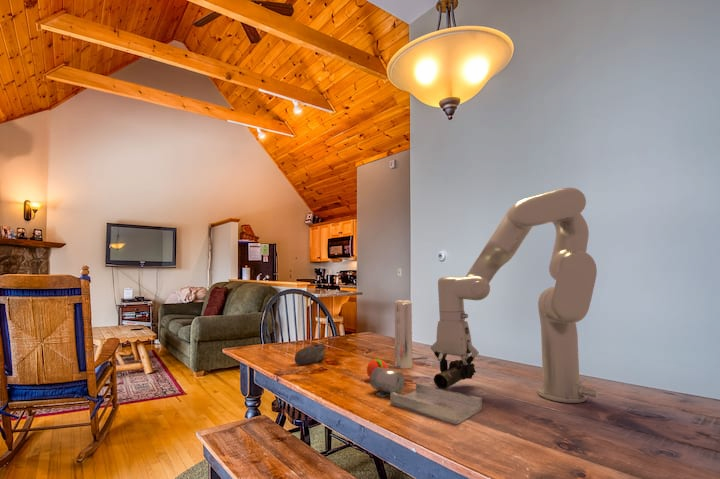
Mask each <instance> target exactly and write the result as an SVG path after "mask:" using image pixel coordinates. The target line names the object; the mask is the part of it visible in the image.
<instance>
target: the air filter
mask: <svg viewBox="0 0 720 479" xmlns="http://www.w3.org/2000/svg"><path fill="white" fill-rule="evenodd" d="M412 307H413V306H412V303H411V300H405V299H403V300H401V299H399V300H395V302H394V367H395V368H396V369H402V370H404V369H406V370H407V369H412V368H413V330H412V329H413V326H412V323H413V321H412V318H413V316H412V314H413V311H412V310H413V309H412Z"/></svg>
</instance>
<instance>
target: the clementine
mask: <svg viewBox="0 0 720 479" xmlns="http://www.w3.org/2000/svg"><path fill="white" fill-rule="evenodd" d="M377 367H380V368H384V369H388V366H387V364H386V362H385V361H384V360H382V359H380V358H375V359H372V360H370V361H369V362H368V364H367V366H366V374H367V376H368V377H369V378H370V377H371V373H372V371H373V370H374V369H375V368H377Z"/></svg>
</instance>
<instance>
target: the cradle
mask: <svg viewBox="0 0 720 479" xmlns="http://www.w3.org/2000/svg"><path fill="white" fill-rule="evenodd" d="M389 396H390V397H389V398H390V401H389V402H390V404H389V405H390V406H393V407H397V408H401V409H403V410H407V411H410V412H413V413H417V414H420V415H423V416H426V417H429V418H433V419H436V420H439V421H443V422H447V423H449V424H451V425H452V424H453V425H459V424H461V423H463V422H464V421H465V420H468V419H469V418H471V417H473V416H475V415H476V414H478V413H479V412H481V411H482V410H483V403H482V402H483V398H482V397H479V396H475V395H470V394H466V393H462V392H457V391H453V390H449V389H442V388H438V387H437V386H433V385H429V384H426V383H420V382H417V383H415V390H414V391H412V392H409V393H407V394H401V393H400V394H398V393H394V392H392V393H390V395H389Z"/></svg>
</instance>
